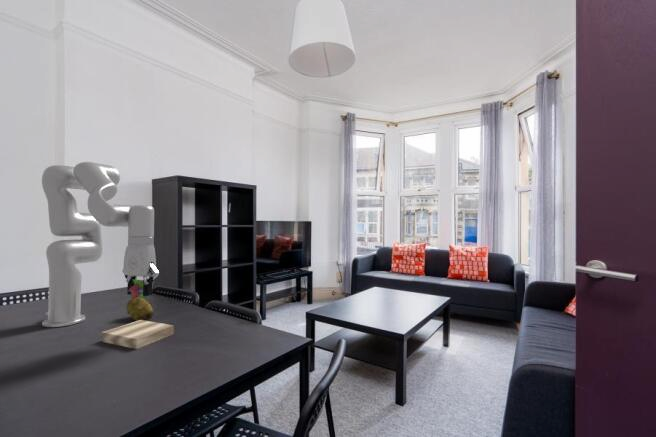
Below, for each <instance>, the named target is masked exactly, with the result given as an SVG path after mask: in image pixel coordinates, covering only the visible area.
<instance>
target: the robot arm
mask: <svg viewBox="0 0 656 437" xmlns="http://www.w3.org/2000/svg"><path fill="white" fill-rule="evenodd" d="M120 180H121V175H120V172H119V171H118V169H117V168H116V167H115V166H113V165H109V164H102V163H98V162H91V161H82V162H80V163H79V162H78V163H77V164H76V165H75V166H69V165H62V164H61V165H57V164H55V165H50V166H48V167H47V168H45V169H44V171H43V172H42V176H41V186H42V189H43V192H44V195H45V197H46V201H47V206H48V208H47V210H48V223H49V229H50V232H51V234H53V236H55V237H81V238H82V239H62V240H61V239H60V240H56V241H53V242H51V243H49V244H48V246H47V247H46V253H45V256H46V259H47V265H48V266H47V267H48V305H47V306H48V311H46V312H45V315H46V316H47V319H45V320H43V321H42V323H41V326H42V327H44V328H58V327H59V328H60V327H65V326H66V327H67V326H71V325H76V324H79V323H82V322H83V321H85V320H86V315H84V314H81V306H82V305H81V304H82V303H81V302H82V301H81V300H82V273H81V271H80V270H79V269H78V268H77V266H76V265H78V264H85V263H93V262H96V261H99V259H101V257H102V255H103V240H102V239H103V238H102V228H101V226H104V227H112V228H113V227H117V228H118V227H125V228H126V227H128V228H127V231H128V232H127V245H126V248H125V252H124V258H123V269H122V274H123V275H124V277H125V279H126V280H125V281H126V283H127V286H126V287H127V291H126V292H127V295H130V296H131V295H132V294H131V292H130V291H128V290H130V289H129V288H130V287H132V286H133V285H135V284H134V282H133V279H136V280H138V277H141V278H142V280H144V283H145V284H143V296H147V297H149V296H152V295H153V290H154V288H153V287H154V283H155V281H156V279H157V277H158V276H159V275H160V272H159V270H158V269H157V259H156V258H157V257H156V249H155V244H154V242H155V240H154V238H155V208H154V207H153V206H151V205H143V204H142V205H128V204H117V203H116V204H115V203H114V204H112V203H109V202H108V201H110V200H112V199H113V198H114V197H115V196H116V194H117V192H118V184H120ZM68 189H70V190H71V189H72V190H74V189H75V190H82V191H86V192H87V193H88V195H89V196H88V198H87V209H88V212H79V211H78V207H77V200H76V198H75V197H74V196H73V194H72V193H71V192H70V191H69V190H68ZM147 278H148V279H147ZM131 282H132V283H131ZM129 293H130V294H129Z"/></svg>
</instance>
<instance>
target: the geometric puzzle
mask: <svg viewBox="0 0 656 437" xmlns="http://www.w3.org/2000/svg"><path fill="white" fill-rule="evenodd" d="M147 279H149V277H147ZM133 282H134V284H135V285H133V286H132V287H130V288H129V289H130V290H128V291H130V292H131V294H130V293H129V294H130V295H131V298H132V299H135V298H138V297H139V298H147V299H148V298H149V296H143V284H145V283H144V279H142V277H141V278H139V279H133ZM131 283H132V282H131ZM129 294H128V295H129ZM139 298H138V299H139Z"/></svg>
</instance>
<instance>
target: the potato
mask: <svg viewBox="0 0 656 437" xmlns="http://www.w3.org/2000/svg"><path fill="white" fill-rule="evenodd" d="M138 298H139V299H138ZM125 309H126V312H127V314H128V315H129V316H130V318H131V319H132V320H134V321H139V320H145V321H149V320H151V319H152V318H153V316H154V314H155V311H154V309H153V307H152V306H151V303H150V302H148V301H147V300H146V299H145V298H144V297H140V296H139V297H137V298H135V299H133V298H132V299H130V300H128V302H127V303H126V308H125Z"/></svg>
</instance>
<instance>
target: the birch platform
mask: <svg viewBox="0 0 656 437" xmlns="http://www.w3.org/2000/svg"><path fill="white" fill-rule="evenodd" d="M174 330H175V325H173V324H168V323H161V322H155V321H149V320H147V321H145V320H139V321H136V320H134V321H132V322H130V323H126V324H123V325H119V326H118V327H114V328H111V329H108V330H103V331H101V338H100V340H101V343H105V344H111V345H116V346H120V347H125V348H129V349H135V350H138V349H140V348H143V347H146V346H148V345H150V344H152V343H155V342H158V341H160V340H162V339H164V338H168V337H171V336H172V335H174V332H175V331H174Z"/></svg>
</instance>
